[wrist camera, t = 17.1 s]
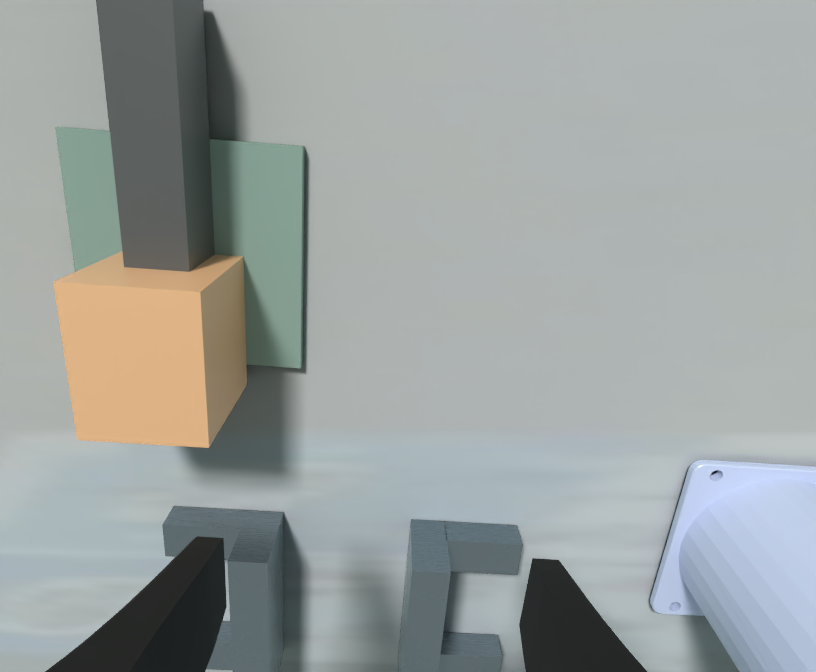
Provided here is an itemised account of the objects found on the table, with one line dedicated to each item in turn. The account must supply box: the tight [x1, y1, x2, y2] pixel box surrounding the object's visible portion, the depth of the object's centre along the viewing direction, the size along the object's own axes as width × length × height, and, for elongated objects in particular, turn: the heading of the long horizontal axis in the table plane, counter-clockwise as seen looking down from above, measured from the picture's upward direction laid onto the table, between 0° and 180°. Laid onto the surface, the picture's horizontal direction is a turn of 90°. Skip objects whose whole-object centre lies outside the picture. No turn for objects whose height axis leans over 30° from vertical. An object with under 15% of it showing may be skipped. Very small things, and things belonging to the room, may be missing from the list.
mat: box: [55, 127, 305, 368], centre depth 20 cm, size 8×8×1 cm
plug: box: [53, 0, 247, 448], centre depth 17 cm, size 4×13×4 cm, turn 176°
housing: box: [163, 506, 523, 672], centre depth 24 cm, size 15×8×3 cm, turn 86°
